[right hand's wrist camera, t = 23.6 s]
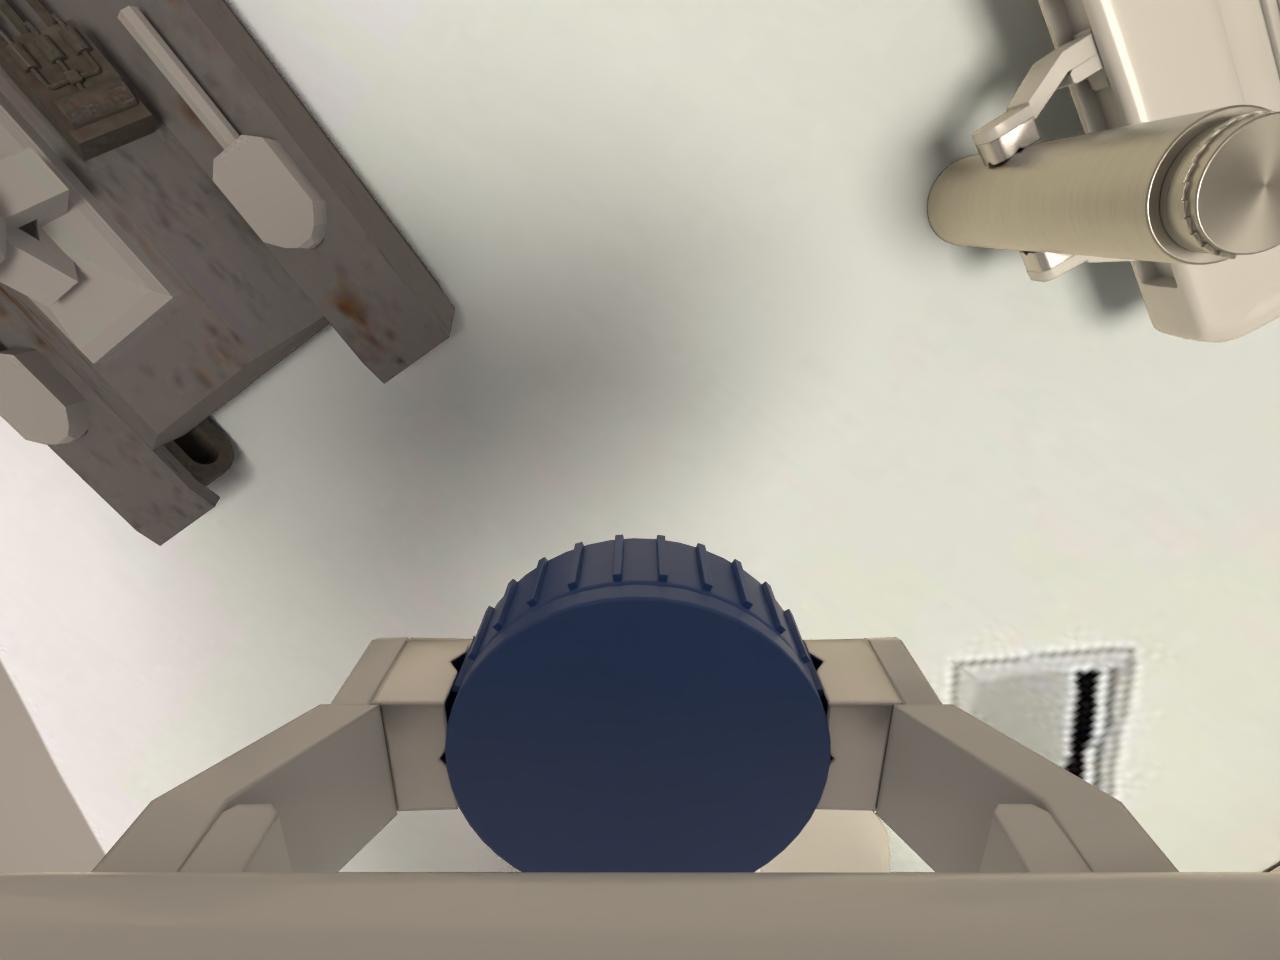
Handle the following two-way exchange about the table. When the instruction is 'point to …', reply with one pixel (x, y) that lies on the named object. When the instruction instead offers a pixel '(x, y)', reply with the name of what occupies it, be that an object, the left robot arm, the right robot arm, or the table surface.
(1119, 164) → the tan tube
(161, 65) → the toy
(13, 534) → the table surface
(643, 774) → the lid
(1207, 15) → the left robot arm
